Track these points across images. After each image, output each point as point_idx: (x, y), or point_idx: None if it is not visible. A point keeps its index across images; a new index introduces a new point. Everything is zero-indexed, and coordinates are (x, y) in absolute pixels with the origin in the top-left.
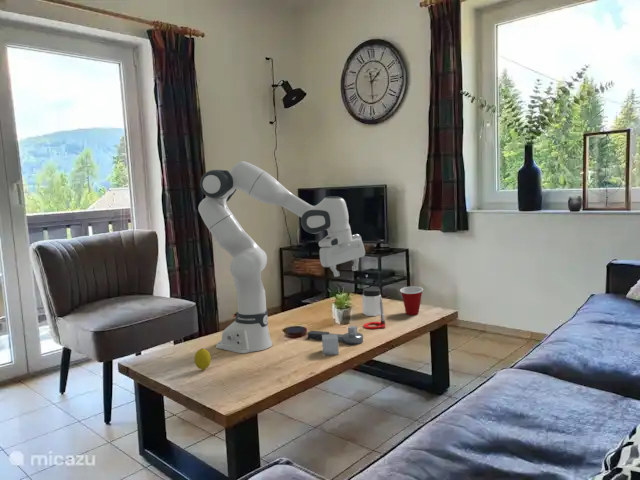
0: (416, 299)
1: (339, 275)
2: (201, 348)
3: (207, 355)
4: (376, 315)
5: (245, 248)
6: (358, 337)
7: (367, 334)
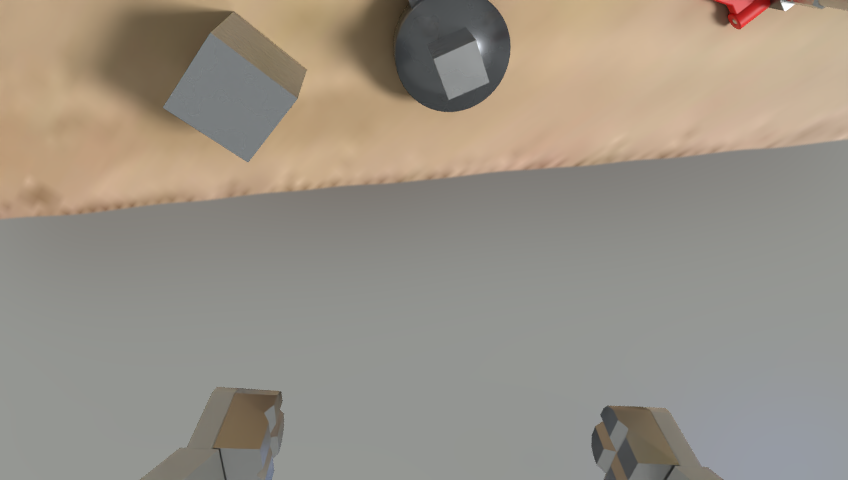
0: None
1: (278, 433)
2: None
3: None
4: None
5: None
6: (444, 103)
7: (591, 21)
